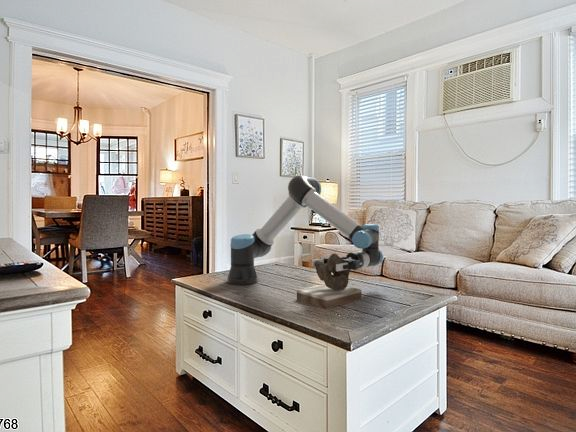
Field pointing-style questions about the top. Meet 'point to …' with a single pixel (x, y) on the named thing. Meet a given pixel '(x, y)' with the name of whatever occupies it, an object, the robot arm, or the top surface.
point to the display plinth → (328, 296)
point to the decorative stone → (338, 278)
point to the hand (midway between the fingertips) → (323, 265)
